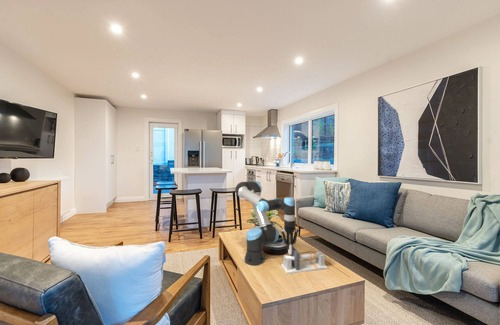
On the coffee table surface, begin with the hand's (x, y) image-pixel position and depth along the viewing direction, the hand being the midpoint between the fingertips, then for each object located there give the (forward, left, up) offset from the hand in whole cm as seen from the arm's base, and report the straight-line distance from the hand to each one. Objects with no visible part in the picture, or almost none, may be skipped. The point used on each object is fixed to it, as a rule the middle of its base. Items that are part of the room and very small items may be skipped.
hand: (289, 253), depth 162 cm
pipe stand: (+11, 0, -11) cm, 15 cm away
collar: (+4, 0, -9) cm, 10 cm away
